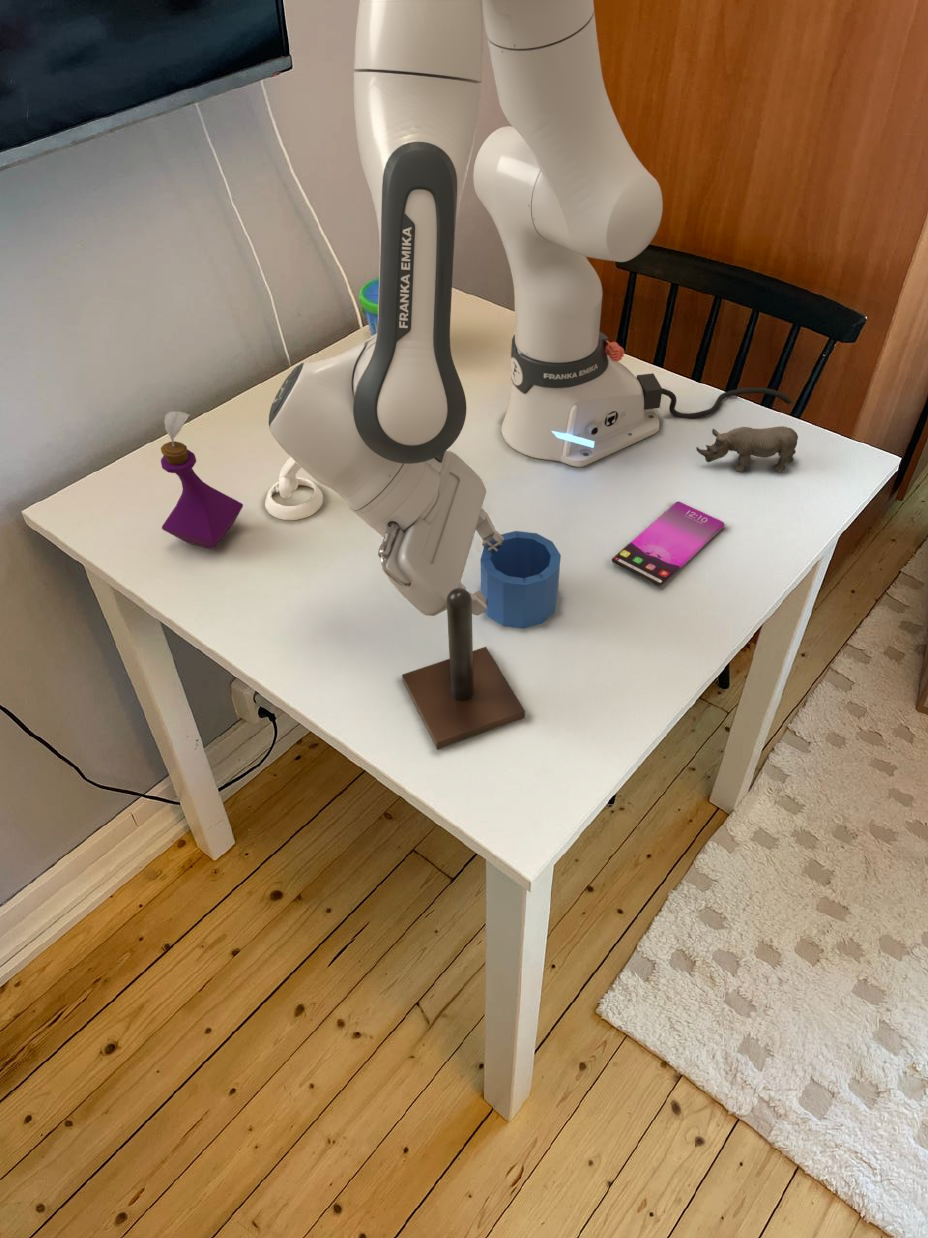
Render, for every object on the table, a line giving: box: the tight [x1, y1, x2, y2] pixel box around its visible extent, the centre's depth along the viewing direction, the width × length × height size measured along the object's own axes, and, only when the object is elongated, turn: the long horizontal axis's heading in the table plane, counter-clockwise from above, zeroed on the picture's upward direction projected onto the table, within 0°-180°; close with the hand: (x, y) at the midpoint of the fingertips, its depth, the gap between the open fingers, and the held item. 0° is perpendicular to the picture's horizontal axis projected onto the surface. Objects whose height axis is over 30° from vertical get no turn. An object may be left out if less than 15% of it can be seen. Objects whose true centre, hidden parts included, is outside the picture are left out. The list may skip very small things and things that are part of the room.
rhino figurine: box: [695, 425, 799, 473], centre depth 128 cm, size 4×14×6 cm, turn 89°
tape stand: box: [401, 588, 526, 750], centre depth 97 cm, size 10×10×16 cm
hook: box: [264, 456, 324, 521], centre depth 124 cm, size 8×12×7 cm
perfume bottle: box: [160, 410, 244, 550], centre depth 116 cm, size 8×8×18 cm
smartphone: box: [611, 501, 725, 587], centre depth 119 cm, size 7×15×1 cm, turn 139°
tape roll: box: [480, 530, 562, 629], centre depth 111 cm, size 9×9×7 cm
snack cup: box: [358, 277, 379, 337], centre depth 149 cm, size 16×10×10 cm
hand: (491, 576), depth 105 cm, fingers open, 8 cm apart
